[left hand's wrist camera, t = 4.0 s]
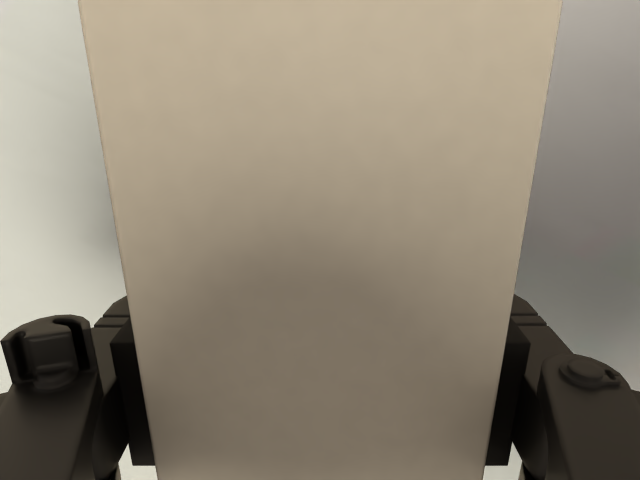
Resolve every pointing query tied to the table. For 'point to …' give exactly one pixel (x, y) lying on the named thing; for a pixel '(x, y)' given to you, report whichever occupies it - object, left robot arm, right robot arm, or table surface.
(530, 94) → the bar
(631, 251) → the table surface
